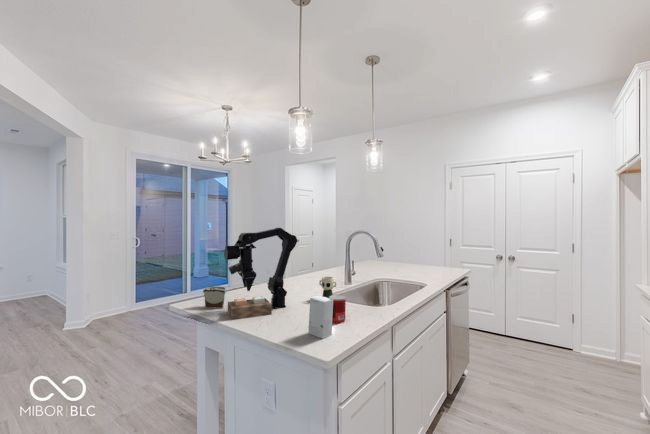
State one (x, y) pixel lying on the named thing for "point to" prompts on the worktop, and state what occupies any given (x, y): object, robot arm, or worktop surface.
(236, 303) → the terracotta key
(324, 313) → the skincare box
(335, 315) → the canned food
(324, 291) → the character mug
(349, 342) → the worktop surface
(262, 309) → the key console
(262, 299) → the sage key
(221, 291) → the food container
